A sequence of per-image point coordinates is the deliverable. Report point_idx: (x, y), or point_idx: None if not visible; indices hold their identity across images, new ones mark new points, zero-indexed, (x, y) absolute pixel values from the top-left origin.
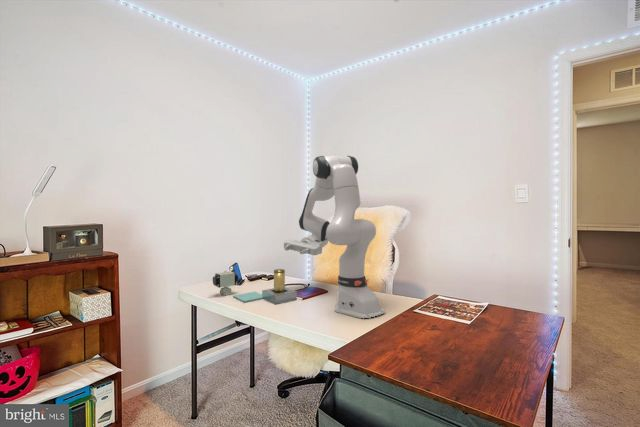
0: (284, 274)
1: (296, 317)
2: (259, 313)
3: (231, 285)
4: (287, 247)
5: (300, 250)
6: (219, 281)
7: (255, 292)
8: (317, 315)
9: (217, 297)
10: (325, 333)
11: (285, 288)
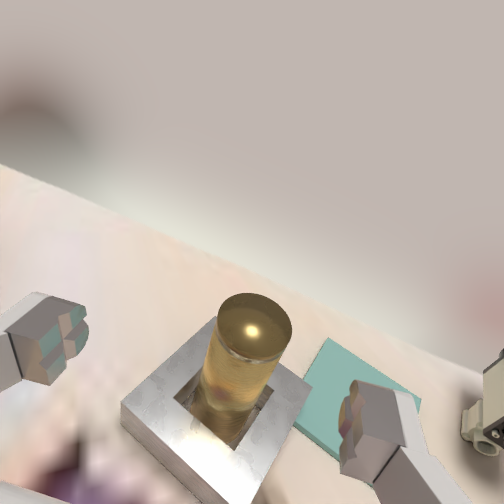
0: (212, 336)
1: (105, 243)
2: (223, 264)
3: (483, 415)
4: (356, 389)
5: (74, 303)
6: (501, 357)
7: None
8: (28, 255)
9: (458, 388)
10: (28, 177)
11: (208, 457)
